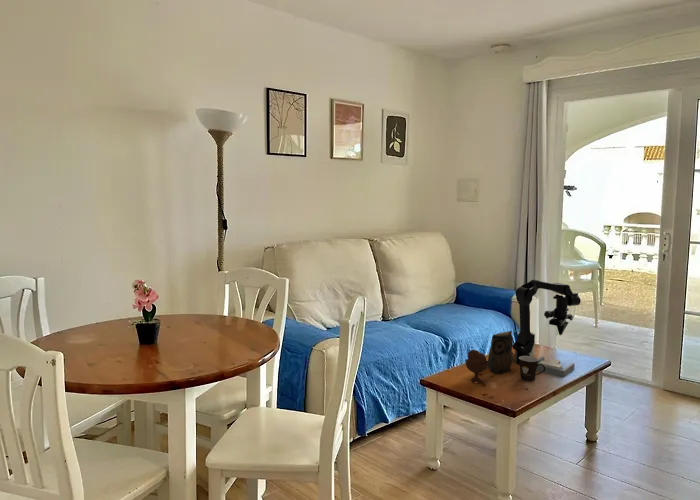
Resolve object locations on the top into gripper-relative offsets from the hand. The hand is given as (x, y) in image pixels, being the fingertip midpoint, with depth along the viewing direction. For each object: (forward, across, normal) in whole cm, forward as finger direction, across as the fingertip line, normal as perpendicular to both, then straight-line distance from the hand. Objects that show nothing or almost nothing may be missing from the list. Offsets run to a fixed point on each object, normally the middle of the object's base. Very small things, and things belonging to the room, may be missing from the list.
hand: (560, 335), depth 275 cm
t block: (+12, +23, +5) cm, 26 cm away
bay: (+12, +21, +4) cm, 25 cm away
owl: (+12, +41, -15) cm, 45 cm away
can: (+12, +7, -16) cm, 21 cm away
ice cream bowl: (+12, +63, -16) cm, 66 cm away
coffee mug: (+12, +44, +2) cm, 46 cm away
